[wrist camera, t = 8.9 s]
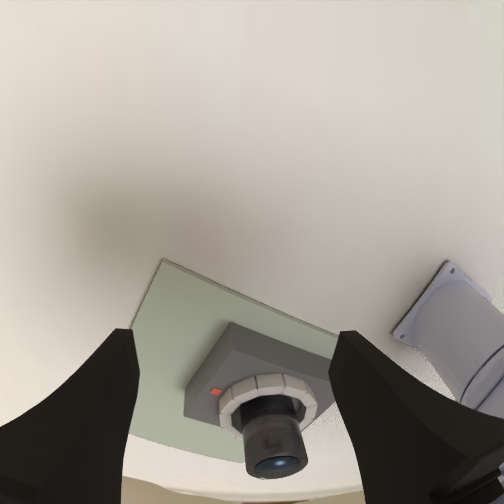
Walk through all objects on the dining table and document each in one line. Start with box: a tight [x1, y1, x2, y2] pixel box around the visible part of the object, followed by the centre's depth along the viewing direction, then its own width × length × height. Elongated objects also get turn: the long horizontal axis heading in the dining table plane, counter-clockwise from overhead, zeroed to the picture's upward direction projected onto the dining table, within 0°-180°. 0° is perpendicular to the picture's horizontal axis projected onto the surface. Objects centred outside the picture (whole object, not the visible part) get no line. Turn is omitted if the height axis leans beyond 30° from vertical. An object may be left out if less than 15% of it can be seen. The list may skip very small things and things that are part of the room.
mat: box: [129, 259, 339, 463], centre depth 25 cm, size 17×20×1 cm
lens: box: [240, 394, 308, 480], centre depth 19 cm, size 4×4×6 cm
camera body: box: [183, 322, 335, 440], centre depth 23 cm, size 10×8×4 cm
